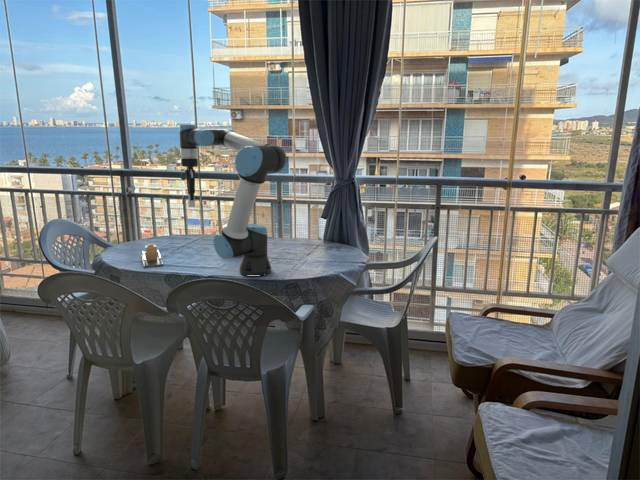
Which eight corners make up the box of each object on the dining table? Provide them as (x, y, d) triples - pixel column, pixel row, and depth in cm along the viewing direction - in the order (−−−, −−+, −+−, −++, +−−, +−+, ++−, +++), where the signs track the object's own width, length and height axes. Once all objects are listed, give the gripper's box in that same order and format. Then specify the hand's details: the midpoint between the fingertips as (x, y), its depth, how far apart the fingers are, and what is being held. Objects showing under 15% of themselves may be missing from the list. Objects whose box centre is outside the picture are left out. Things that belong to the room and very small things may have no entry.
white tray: (163, 265, 218) (162, 259, 217) (143, 267, 215) (143, 260, 214) (159, 254, 236) (159, 248, 235) (141, 256, 232) (141, 250, 231)
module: (157, 259, 224) (156, 245, 222) (146, 260, 222) (145, 246, 220) (156, 257, 228) (155, 243, 226) (146, 258, 226) (145, 244, 224)
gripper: (199, 158, 204) (202, 208, 210) (195, 156, 215) (197, 204, 221) (182, 158, 201) (185, 209, 207) (179, 156, 212) (182, 204, 218)
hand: (192, 206), depth 214 cm, fingers closed
